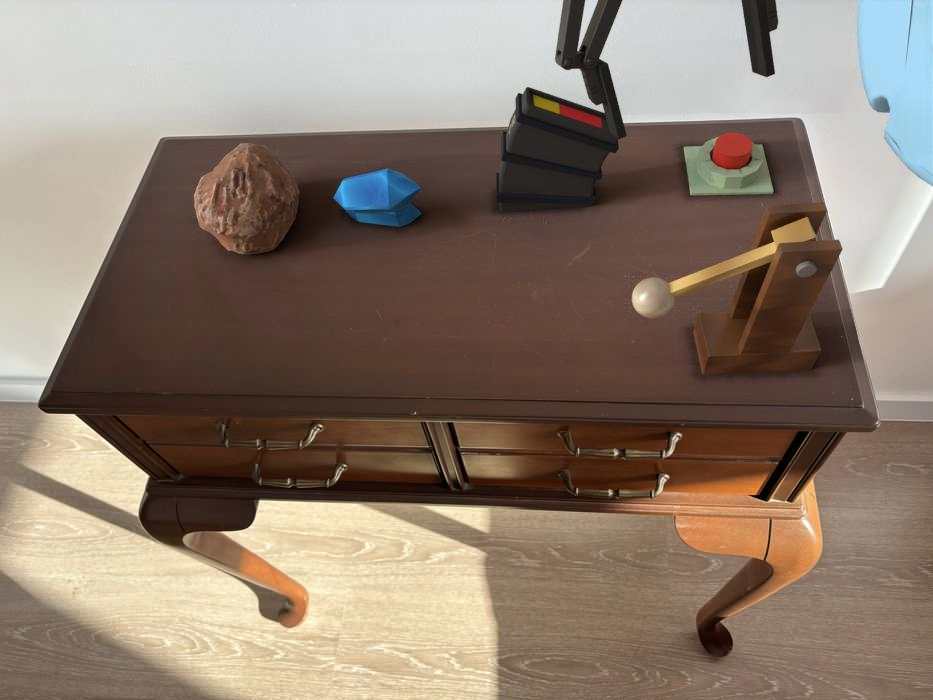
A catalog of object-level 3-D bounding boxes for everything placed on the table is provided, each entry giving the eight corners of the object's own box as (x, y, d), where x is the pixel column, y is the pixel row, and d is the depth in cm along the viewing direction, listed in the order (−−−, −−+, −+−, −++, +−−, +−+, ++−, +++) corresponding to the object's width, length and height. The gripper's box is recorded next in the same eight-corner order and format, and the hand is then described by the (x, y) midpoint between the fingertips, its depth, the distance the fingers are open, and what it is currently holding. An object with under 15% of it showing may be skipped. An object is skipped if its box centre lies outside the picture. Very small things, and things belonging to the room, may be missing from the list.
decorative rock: (258, 181, 89) (229, 116, 81) (330, 204, 85) (306, 138, 77) (193, 252, 83) (154, 190, 75) (267, 280, 79) (234, 218, 71)
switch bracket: (701, 383, 66) (744, 259, 52) (690, 332, 70) (728, 202, 55) (809, 378, 66) (884, 251, 51) (793, 327, 69) (859, 194, 54)
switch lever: (645, 331, 61) (627, 311, 59) (639, 299, 63) (622, 278, 61) (827, 265, 54) (815, 239, 52) (814, 231, 56) (803, 205, 54)
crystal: (328, 153, 80) (422, 139, 76) (361, 207, 87) (449, 197, 82) (308, 198, 76) (405, 186, 72) (343, 251, 83) (435, 243, 78)
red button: (745, 146, 80) (749, 131, 79) (751, 170, 78) (755, 155, 76) (710, 147, 81) (713, 133, 79) (714, 170, 79) (717, 156, 77)
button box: (759, 152, 83) (766, 131, 81) (771, 199, 79) (778, 179, 76) (682, 154, 84) (686, 134, 82) (689, 200, 80) (693, 181, 77)
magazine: (471, 186, 82) (522, 83, 71) (571, 216, 86) (635, 121, 74) (470, 209, 80) (523, 106, 68) (573, 238, 84) (640, 144, 72)
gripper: (772, -238, 53) (803, 41, 64) (471, -99, 55) (550, 147, 66) (827, -262, 47) (851, 53, 58) (483, -103, 49) (569, 170, 60)
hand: (690, 104), depth 62 cm, fingers open, 13 cm apart
